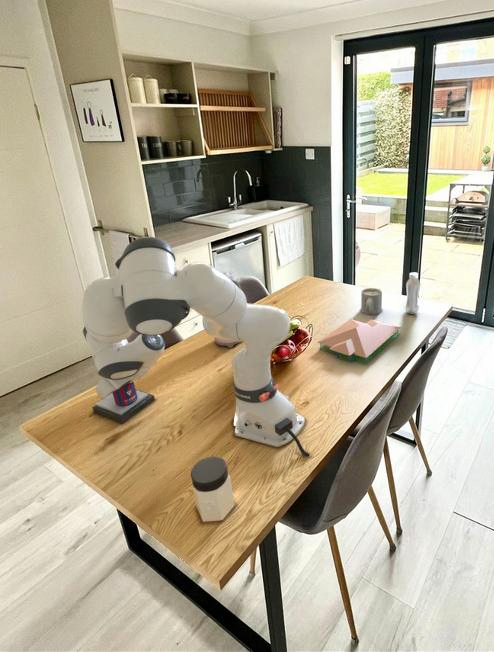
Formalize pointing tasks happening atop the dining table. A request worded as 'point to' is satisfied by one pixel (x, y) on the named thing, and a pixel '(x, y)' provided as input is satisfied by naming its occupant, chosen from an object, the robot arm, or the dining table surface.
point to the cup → (125, 395)
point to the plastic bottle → (412, 294)
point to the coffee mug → (371, 301)
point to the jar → (212, 489)
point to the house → (359, 338)
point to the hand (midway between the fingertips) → (120, 384)
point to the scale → (122, 407)
